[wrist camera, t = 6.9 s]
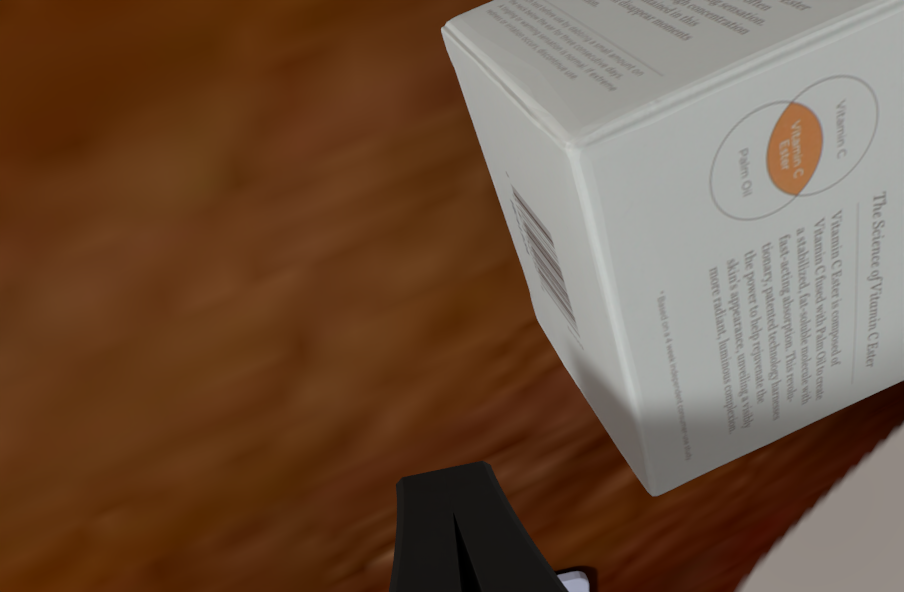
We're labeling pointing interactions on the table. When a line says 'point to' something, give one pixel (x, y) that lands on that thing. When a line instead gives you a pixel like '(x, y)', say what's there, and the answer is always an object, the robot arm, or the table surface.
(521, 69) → the small box
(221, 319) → the table surface
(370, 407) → the table surface
